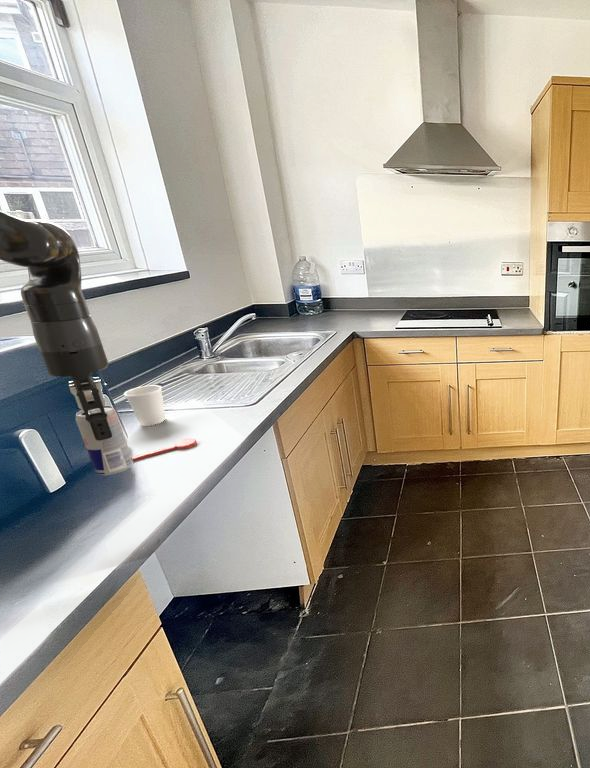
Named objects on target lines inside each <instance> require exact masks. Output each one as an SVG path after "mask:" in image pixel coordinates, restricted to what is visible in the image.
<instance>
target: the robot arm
mask: <svg viewBox="0 0 590 768" xmlns="http://www.w3.org/2000/svg"><path fill="white" fill-rule="evenodd" d="M0 261H1V262H5V263H8V264H10V265H14V266H18V267H23V268H27V272H28V282H27V283H26V284H24V285H23V286H22V287H21V288H20V296H21V300H22V303H23V305H24V308H25V311H26V312H27V313H26V314H27V315H28V318H29V321H30V324H31V329H32V334H33V337H34V340H35V342H36V346H37V348H38V351H39V354H40V356H41V358H42V360H43V364H44V366H45V369H46V371H47V374H48V375H50V376H52V377H57V378H58V377H59V378H60V377H61V378H64V377H71V378H72V380H71V381H67V384H68V388H69V391H70V393H71V395H73V396H74V398H75V402H76V404H77V407H78V408H79V410H80V411H82V410H84V413H85V416H86V418H85V419H86V421H88V422H89V423H90V425H91V428H92V431H93V433H94V436H95V439H96V440H98V441H100V440H104V439H108V438H111V437H112V433H111V430H110V427H109V424H108V422H107V419H106V418H107V413H105V411H104V408H103V406H107V405H106V404H107V401H106V399H105V397H104V393H103V384H102V382H101V379H100V377H99V376H96V377H94V373H96V372H100V371H103V370H105V369H107V368H108V367H109V360H108V358H107V355H106V352H105V348H104V345H103V343H102V340H101V337H100V334H99V331H98V328H97V326H96V324H95V322H94V320H93V319H92V316H91V313H90V309H89V307H88V304H87V300H86V298H85V296H84V294H83V291H82V268H81V258H80V253H79V250H78V247H77V245H76V243H75V240H74V239H73V237H72V236H71V235H70V234H69V232H67V231H66V230H65V229H64V228H63V227H61V226H60V225H58V224H56V223H54V222H51V221H48V220H44V219H43V220H42V219H22V218H19V217H16V216H13V215H10V214H9V213H5V212H4V211H1V210H0ZM96 408H99V409H100V410H101V412H99V413H95V414H89V410H91V409H96Z"/></svg>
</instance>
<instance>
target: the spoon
mask: <svg viewBox="0 0 590 768" xmlns="http://www.w3.org/2000/svg"><path fill="white" fill-rule="evenodd" d="M197 444H198V442H197V439H196V438H185V439H181V440H179V441H177V442H175V444H174V445H171V446H166V447H163V448H159V449H156V450H152V451H149V452H145V453H142V454H137V455H135V456H132V459H133V462H136V461H139V460H142V459H147V458H150V457H153V456H156V455H160V454H163V453H169V452H171V451H174V450H186V449H190V448H193V447H195V446H196V445H197Z"/></svg>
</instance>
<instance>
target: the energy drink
mask: <svg viewBox="0 0 590 768" xmlns="http://www.w3.org/2000/svg"><path fill="white" fill-rule="evenodd" d="M103 408H104V411H105V413H107V418H106V419H107V422H108V424H109V427H110V430H111V433H112V437H111V438H108V439H104V440H100V441H98V440H96V439H95V436H94V433H93V431H92V428H91V425H90V423H89V422H88V421H86V419H85V418H86V416H85V413H84V410H79V411H78V412H76V413H75V422H76V425H77V427H78V430H79V432H80V435H81V438H82V441H83V444H84V446H85V449H86V451H87V453H88V457H89V459H90V462H91V465H92V467H93V470H94V472H95V474H97V475H99V476H111V475H115V474H120V473H122V472H125V471H127V470H128V469H130V468H131V467H132V466H133V464H134V461H133V459H132V457H133V456H132V454H131V450H130V447H129V444H128V441H127V439H126V436H125V434H124V430H123V427H122V425H121V422H120V418H119V415H118V413H117V410H116V409H115V408H114V406H113V405H105V406H103ZM99 412H101V410H100V409H99V408H96V409H91V410H89V414H95V413H99Z"/></svg>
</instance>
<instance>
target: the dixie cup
mask: <svg viewBox="0 0 590 768" xmlns="http://www.w3.org/2000/svg"><path fill="white" fill-rule="evenodd" d="M162 390H163V387H162V386H161V385H156V384H153V385H151V384H150V385H143V386H138V387H134V388H130V389H128V390H126V391H125V392H124V393H123V396H124V397H125V398H126V400H127V402H128V403H129V405H130V407H131V409H132V411H133V413H134V415H135V417H136V418H137V420H138V422H139V424H140V426H141V427H151V425H152V426H156V425H159V424H162V423H164V422H165V421H166V420H165V419H166V412H165V405H164V398H163V392H162ZM164 420H165V421H164ZM163 421H164V422H163ZM161 422H162V423H161ZM158 423H159V424H158ZM155 424H156V425H155Z"/></svg>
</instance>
